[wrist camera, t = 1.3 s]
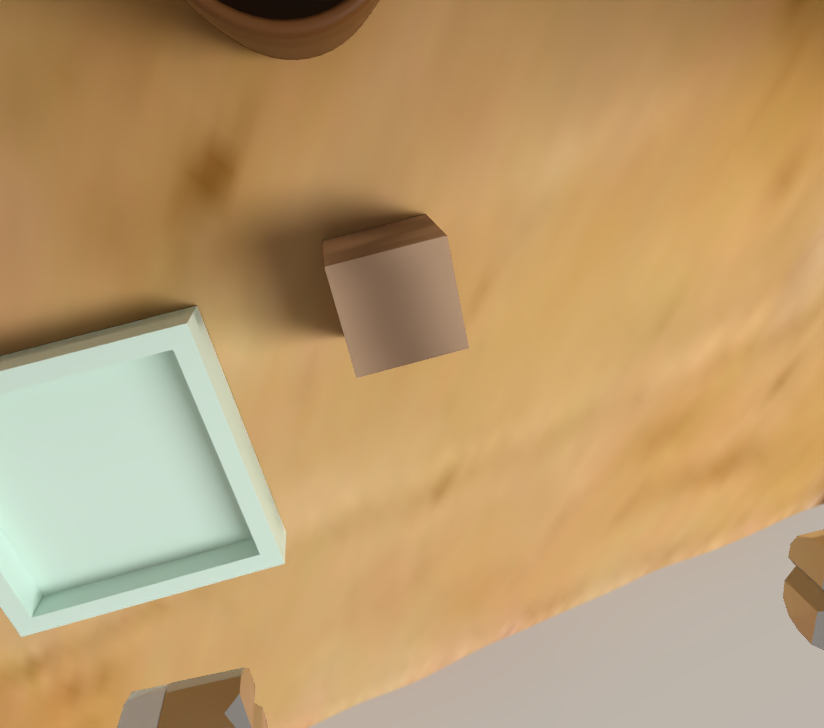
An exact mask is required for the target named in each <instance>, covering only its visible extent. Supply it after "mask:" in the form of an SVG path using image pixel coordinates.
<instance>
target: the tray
mask: <svg viewBox="0 0 824 728" xmlns="http://www.w3.org/2000/svg"><path fill="white" fill-rule="evenodd" d="M285 547H286V531H285V528H284V526H283V523H282V521H281V518H280V516H279V513H278V511H277V508H276V506H275V503H274V500H273V498H272V495H271V493H270V490H269V488H268V485H267V483H266V480H265V478H264V475H263V472H262V470H261V467H260V465H259V462H258V460H257V457H256V455H255V452H254V449H253V447H252V444H251V442H250V439H249V437H248V434H247V432H246V429H245V427H244V424H243V421H242V419H241V416H240V414H239V411H238V409H237V406H236V404H235V401H234V399H233V396H232V393H231V391H230V388H229V386H228V383H227V381H226V378H225V376H224V373H223V370H222V368H221V365H220V363H219V360H218V358H217V355H216V353H215V350H214V348H213V345H212V342H211V340H210V337H209V335H208V332H207V330H206V327H205V325H204V322H203V320H202V317H201V314H200V312H199V309H198V307H197V306H193V307H189V308H185V309H181V310H177V311H173V312H169V313H166V314H162V315H158V316H154V317H150V318H146V319H142V320H138V321H134V322H130V323H127V324H123V325H119V326H115V327H111V328H107V329H103V330H99V331H95V332H91V333H88V334H84V335H80V336H76V337H72V338H68V339H64V340H60V341H56V342H52V343H49V344H45V345H41V346H37V347H33V348H29V349H25V350H21V351H17V352H13V353H9V354H6V355H2V356H0V607H1V608H2V610H3V611H4V613H5V614H6V615H7V617H8V618H9V620H10V621H11V623H12V624H13V625H14V627H15V628H16V630H17V631H18V633H19V634H20V636H21V637H23V636H27V635H30V634H34V633H37V632H41V631H45V630H48V629H52V628H55V627H59V626H63V625H66V624H70V623H73V622H77V621H81V620H84V619H88V618H91V617H95V616H98V615H102V614H106V613H109V612H113V611H116V610H120V609H124V608H127V607H131V606H134V605H138V604H141V603H145V602H149V601H152V600H156V599H159V598H163V597H167V596H170V595H174V594H177V593H181V592H185V591H188V590H192V589H195V588H199V587H202V586H206V585H210V584H213V583H217V582H220V581H224V580H228V579H231V578H235V577H238V576H242V575H245V574H249V573H253V572H256V571H260V570H263V569H267V568H271V567H274V566H278V565H281V564H285Z"/></svg>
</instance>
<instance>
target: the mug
mask: <svg viewBox="0 0 824 728" xmlns="http://www.w3.org/2000/svg"><path fill="white" fill-rule="evenodd" d="M185 1H186V2H187V3H188V4H189V5H190V6H191V7H192V8H193V9H194V10H195V11H196V12H198V13H199V14H200V15H201V16H202V17H204V18H205V19H206V20H207V21H209V22H210V23H211V24H212V25H214V26H215V27H216V28H218V29H219V30H220V31H222V32H223V33H224V34H226V35H228V36H229V37H231V38H232V39H233V40H235V41H237V42H238V43H240V44H241V45H243V46H245V47H246V48H248V49H251V50H253V51H255V52H257V53H259V54H263V55H266V56H269V57H273V58H279V59H286V60H299V59H308V58H312V57H316V56H320V55H322V54H325V53H327V52H329V51H332V50H333V49H335V48H337V47H338V46H340V45H341V44H343V43H344V42H345V41H347V40H348V39H349V38H350V37H351V36H352V35H353V34H354V33H355V32H356V31H357V30H358V29H359V28H360V27H361V25H362V24H363V23H364V21H365V20H366V19H367V18H368V16H369V15H370V14H371V12H372V11H373V9H374V8H375V6H376V5H377V3H378V2H379V0H185Z"/></svg>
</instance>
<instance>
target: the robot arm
mask: <svg viewBox="0 0 824 728" xmlns="http://www.w3.org/2000/svg"><path fill="white" fill-rule="evenodd" d="M789 559H790V560H791V561H792V562H793V563H794V565H795V566H796V567H795V568H794V569H793V571H792V572H791V573H790V574H789V576H788V577H787V578H786V579H785V584H784V594H783V598H784V602H785V605H786V608H787V611H788V614H789V616H790V618H791V620H792V621H793V623H794V624H795V626H796V628H797V629H798V630H799V632H800V633H801V634H802V635H803V636H804V637H805V638H806V639H807V640H808V641H809V642H810V643H811V644H812V645H814V646H816V647H818V648H820V649H823V650H824V530H819V531H816V532H812V533H807V534H804V535H799V536H797V537H796V538H795V539H794V541H793V542H792V543H791V545H790V551H789ZM254 695H255V683H254V681H253V678H252V675H251V673H250V670H249V668H240V669H235V670H230V671H226V672H221V673H216V674H211V675H206V676H202V677H197V678H192V679H187V680H183V681H178V682H173V683H171V684H166V685H162V686H157V687H152V688H148V689H143V690H138V691H134V692H132V693H131V695H130V696H129V698H128V699H127V701H126V702H125V704H124V706H123V710H122V713H121V716H120V720H119V723H118V726H117V728H268V725H267V720H266V717H265V714H264V710H263V708H262V707H261V706H259V705H257V704H255V703H254Z"/></svg>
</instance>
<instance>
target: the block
mask: <svg viewBox="0 0 824 728" xmlns="http://www.w3.org/2000/svg"><path fill="white" fill-rule="evenodd" d="M322 242H323V256H324V268H325V271H326V275H327V278H328V282H329V285H330V289H331V292H332V295H333V299H334V302H335V306H336V309H337V313H338V316H339V320H340V323H341V326H342V330H343V333H344V337H345V340H346V344H347V347H348V351H349V354H350V357H351V361H352V364H353V368H354V371H355V375H356V378H358V377H362V376H366V375H369V374H373V373H377V372H381V371H384V370H388V369H392V368H396V367H399V366H403V365H407V364H411V363H414V362H418V361H422V360H426V359H429V358H433V357H437V356H441V355H445V354H448V353H452V352H456V351H460V350H463V349H467V348H469V346H468V341H467V336H466V331H465V326H464V321H463V316H462V311H461V305H460V300H459V295H458V290H457V285H456V280H455V275H454V270H453V265H452V260H451V254H450V249H449V244H448V239H447V235H446V234H445V233H444V232H443V231H442V230H441V229H440V228H439V227H438V226H437V225H436V224H435V223H434V222H433V221H432V220H431V219H430V218H429V217H428V216H427V215H426V214H424V215H420V216H416V217H412V218H408V219H405V220H401V221H397V222H393V223H389V224H385V225H381V226H377V227H373V228H369V229H365V230H361V231H357V232H354V233H350V234H346V235H342V236H338V237H334V238H330V239H326V240H322Z"/></svg>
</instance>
